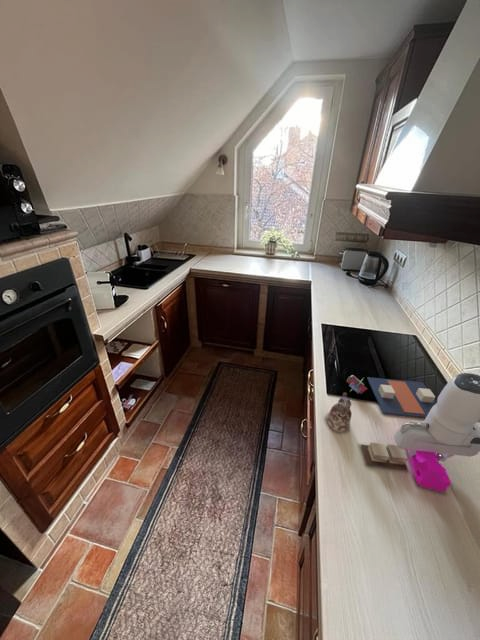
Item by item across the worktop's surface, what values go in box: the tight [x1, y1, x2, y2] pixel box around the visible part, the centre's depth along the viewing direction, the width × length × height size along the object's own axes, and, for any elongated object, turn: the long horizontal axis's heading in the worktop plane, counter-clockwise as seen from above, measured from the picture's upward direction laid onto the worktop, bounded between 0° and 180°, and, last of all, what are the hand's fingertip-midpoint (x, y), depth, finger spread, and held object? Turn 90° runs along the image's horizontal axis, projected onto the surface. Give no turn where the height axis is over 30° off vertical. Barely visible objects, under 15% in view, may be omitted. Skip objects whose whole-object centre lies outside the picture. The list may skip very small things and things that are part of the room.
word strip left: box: [360, 441, 409, 471], centre depth 75 cm, size 11×6×4 cm, turn 84°
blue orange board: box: [366, 376, 437, 419], centre depth 96 cm, size 22×18×4 cm
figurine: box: [326, 392, 352, 433], centre depth 83 cm, size 7×7×12 cm
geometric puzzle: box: [346, 374, 369, 395], centre depth 98 cm, size 7×7×8 cm
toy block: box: [406, 449, 452, 493], centre depth 73 cm, size 15×6×8 cm, turn 164°
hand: (425, 457), depth 74 cm, fingers closed on toy block, 6 cm apart
